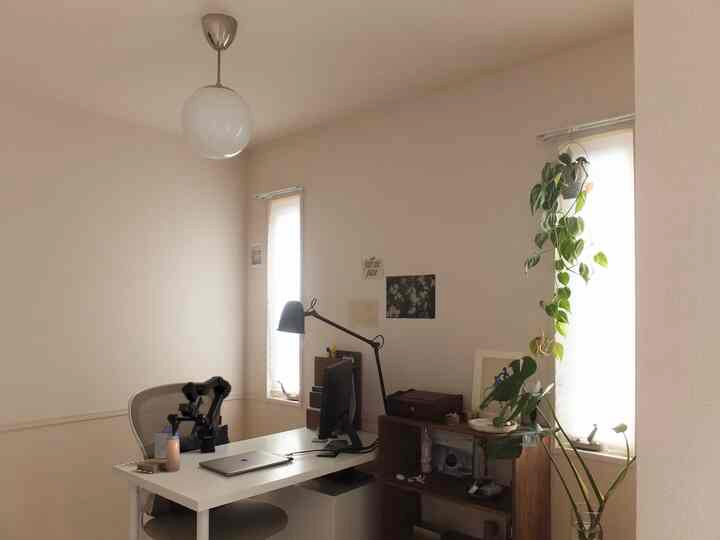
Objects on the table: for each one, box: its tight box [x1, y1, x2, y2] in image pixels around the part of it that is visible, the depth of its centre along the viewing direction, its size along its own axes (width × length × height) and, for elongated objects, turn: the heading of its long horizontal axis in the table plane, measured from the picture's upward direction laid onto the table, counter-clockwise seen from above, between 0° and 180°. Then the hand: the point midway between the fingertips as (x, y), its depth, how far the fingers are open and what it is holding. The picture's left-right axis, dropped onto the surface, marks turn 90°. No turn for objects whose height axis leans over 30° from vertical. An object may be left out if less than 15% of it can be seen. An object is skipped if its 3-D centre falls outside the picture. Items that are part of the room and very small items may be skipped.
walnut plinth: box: [136, 458, 168, 474], centre depth 244 cm, size 10×10×3 cm
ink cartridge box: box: [154, 425, 179, 459], centre depth 266 cm, size 10×6×14 cm, turn 79°
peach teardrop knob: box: [166, 438, 181, 473], centre depth 242 cm, size 5×5×13 cm
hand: (181, 435), depth 250 cm, fingers open, 9 cm apart
